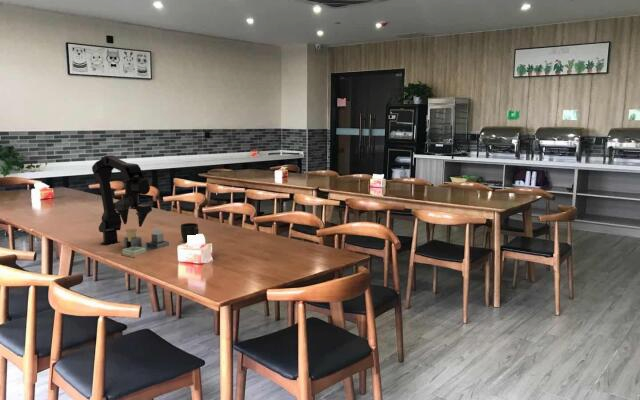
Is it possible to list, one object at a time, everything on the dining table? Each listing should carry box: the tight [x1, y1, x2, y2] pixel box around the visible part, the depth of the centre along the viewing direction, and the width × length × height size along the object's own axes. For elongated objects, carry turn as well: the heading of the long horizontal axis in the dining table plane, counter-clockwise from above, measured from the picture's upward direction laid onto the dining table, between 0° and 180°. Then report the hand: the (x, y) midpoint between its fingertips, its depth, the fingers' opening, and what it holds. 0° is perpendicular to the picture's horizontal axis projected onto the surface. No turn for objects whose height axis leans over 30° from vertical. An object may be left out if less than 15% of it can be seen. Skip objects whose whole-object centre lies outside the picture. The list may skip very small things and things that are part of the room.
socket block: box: [123, 236, 170, 252], centre depth 248 cm, size 14×15×6 cm
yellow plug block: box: [124, 228, 138, 242], centre depth 245 cm, size 4×4×5 cm
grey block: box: [150, 227, 165, 244], centre depth 250 cm, size 4×4×8 cm
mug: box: [180, 222, 200, 244], centre depth 258 cm, size 8×12×10 cm
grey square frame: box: [120, 246, 147, 259], centre depth 237 cm, size 8×8×3 cm
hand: (132, 225), depth 244 cm, fingers open, 9 cm apart
